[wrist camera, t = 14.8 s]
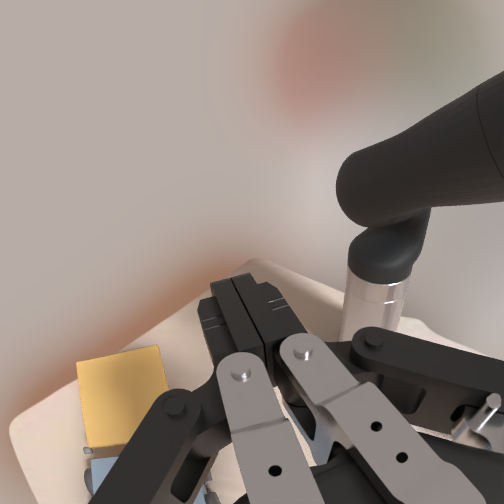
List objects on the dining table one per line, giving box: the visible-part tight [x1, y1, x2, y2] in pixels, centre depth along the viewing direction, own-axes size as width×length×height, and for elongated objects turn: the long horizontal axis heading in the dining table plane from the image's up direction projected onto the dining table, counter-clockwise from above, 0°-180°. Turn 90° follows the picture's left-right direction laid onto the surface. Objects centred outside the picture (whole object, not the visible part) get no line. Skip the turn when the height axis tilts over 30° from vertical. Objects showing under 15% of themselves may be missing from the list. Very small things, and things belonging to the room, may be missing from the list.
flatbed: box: [84, 456, 221, 504], centre depth 28 cm, size 12×16×4 cm
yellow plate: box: [76, 344, 169, 454], centre depth 37 cm, size 2×15×14 cm
